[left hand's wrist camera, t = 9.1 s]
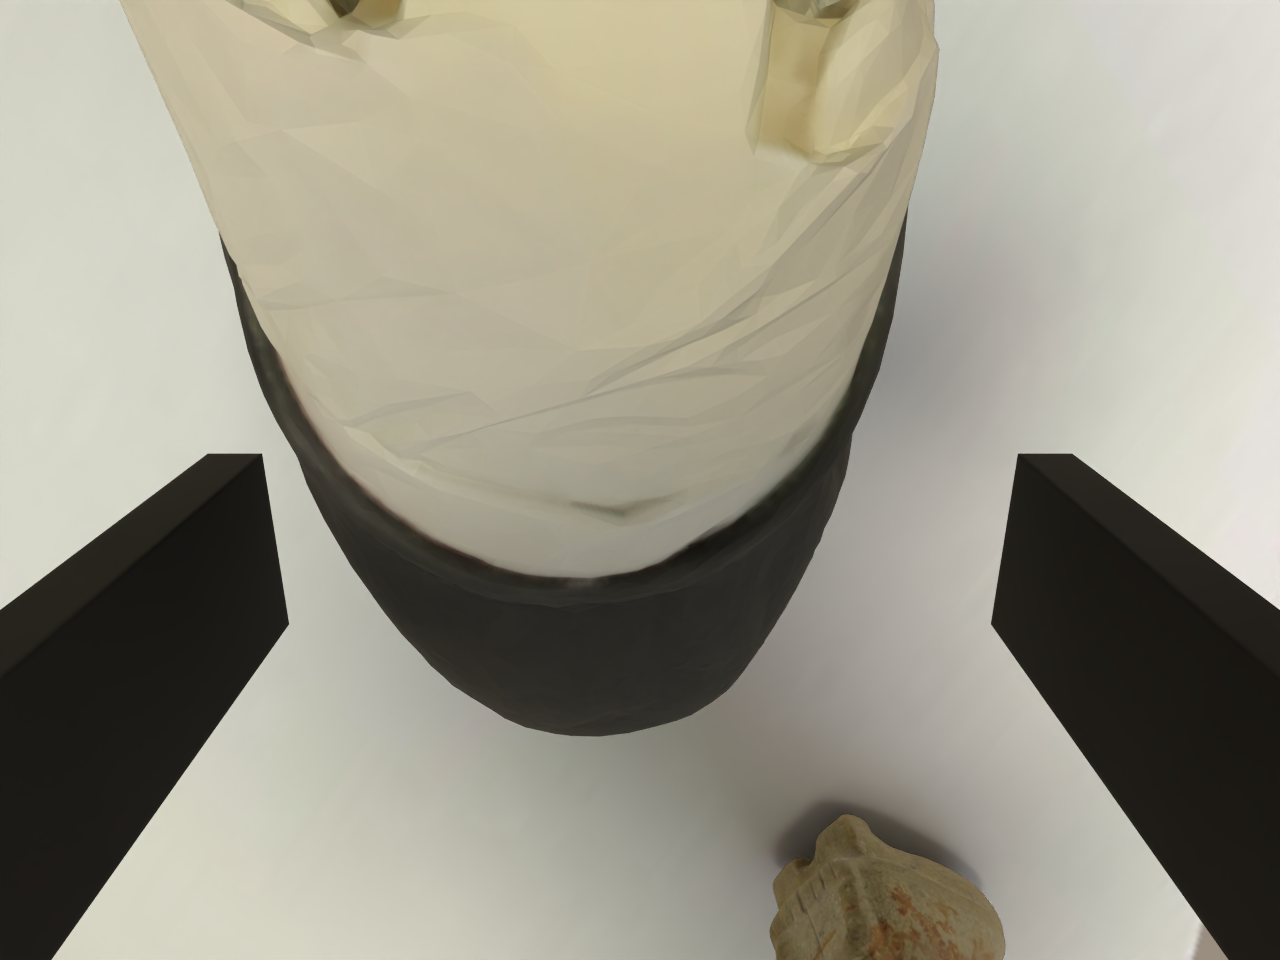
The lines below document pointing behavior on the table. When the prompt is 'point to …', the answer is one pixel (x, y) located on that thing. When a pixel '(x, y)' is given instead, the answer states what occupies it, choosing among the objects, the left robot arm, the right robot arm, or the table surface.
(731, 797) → the table surface
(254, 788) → the table surface
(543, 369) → the dark grey shoe
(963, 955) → the sculpture
